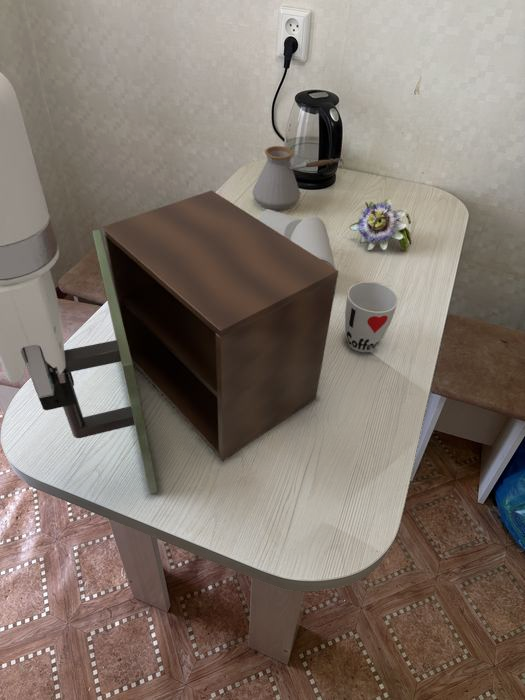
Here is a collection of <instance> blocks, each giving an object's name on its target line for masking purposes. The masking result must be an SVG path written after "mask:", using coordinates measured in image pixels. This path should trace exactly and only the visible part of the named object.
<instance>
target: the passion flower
mask: <svg viewBox="0 0 525 700" xmlns="http://www.w3.org/2000/svg"><path fill="white" fill-rule="evenodd" d="M392 205H393V201H392V198H391V197H389V196H388V197H386V199H384V200H383V202H380V203H378V202H377V203H375V202H374V201H373V200H372V201H370V202H369V204H368V202H367V201H365V206H366V207H365V209H361V211H360V213H361V215H362V217H361V218H359V219H358V221H357V222H354V223H352V224H351V225H349V229H350V230H351V231H356V232H357V231H358V232H359V233H360V235H361V236H360V241H359V244H367V247H366V248H367V249H366V251H369V252H370V251H372V250H374V249H375V247H376V246H377V244H378V245H379V247H380V249H381V250H382V251H386V250H387V249H388V247H389V245H390V242H391V239H394V240H398V242H399V245H400V248H401V250H402V251H406V250H408V246H411V245H412V237H411V232H410V230H409V229H408V228H407V224H406V223H405V222H403V221H401V220H400V219H401V218H403V217H406V219H407V221H408V225H411V224H412V219H411V217H410V214H409V213H407V210H406V209H397V210H393V209H391V208H392ZM408 244H409V245H408Z"/></svg>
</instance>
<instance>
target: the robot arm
mask: <svg viewBox="0 0 525 700" xmlns="http://www.w3.org/2000/svg"><path fill="white" fill-rule="evenodd" d="M59 257H60V248H59V245H58V242H57V238H56V234H55V231H54V227H53V222H52V219H51V216H50V213H49V209H48V205H47V201H46V198H45V193H44V190H43V187H42V183H41V179H40V175H39V172H38V169H37V165H36V162H35V157H34V154H33V151H32V146H31V144H30V140H29V136H28V132H27V129H26V124H25V122H24V117H23V113H22V110H21V107H20V103H19V99H18V96H17V94H16V91H15V89H14V87H13V85H12V83H11V82H10V80H9V79H8V78H7V76H5V75H4V73H2V72H1V71H0V363H1V366H2V369H3V372H4V374H5V376H6V379H7V380H8V381H9V382H10V383H12V384H17V383H22V382H24V377H25V373H26V372H25V371H26V369H27V372H28V374H29V376H30V379H31V382H32V384H33V387H34V390H35V393H36V395H37V397H38V399H39V403H40V405H41V408H42V410H43V411H51V410H56V409H60V408H63V407H65V406H69V405H74V404H75V403H76V397H75V394H74V391H73V388H72V385H71V382H70V379H69V376H68V374H64V371H63V370H64V369H65V366H66V365H65V352H64V350H65V341H64V339H65V338H64V330H63V329H64V328H63V321H62V315H61V308H60V303H59V299H58V295H57V291H56V287H55V283H54V280H53V276H52V272H51V269H52V268H53V267H54V266H55V265H56V263H57V261H58V260H59ZM49 368H55V371H54V372H50V370H49ZM69 375H70V378H71V381H72V384H73V387H75V380H74V378H73V374H72V372H69Z"/></svg>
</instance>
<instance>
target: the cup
mask: <svg viewBox="0 0 525 700" xmlns="http://www.w3.org/2000/svg"><path fill="white" fill-rule="evenodd" d="M398 305H399V297H398V294H397V293H396V292H395V291H394V290H393V289H392V288H391V287H389V286H387V285H385V284H383V283H379V282H374V281H361V282H358V283H357V282H356V283H355V284H352V285H351V286H350V287H349V289H348V291H347V295H346V303H345V311H344V331H345V337H346V341H347V342H346V343H347V345H348V346H349V347H350V349H352V350H354V351H356V352H359V353H370V352H373V351H374V350H376V348H377V346H378V345H379V344H380V342H381V341H382V340H383V338H384V337H385V334H386V333H387V330H388V329H389V327H390V326H391V323H392V320H393V317H394V315H395V313H396V309H397V307H398Z"/></svg>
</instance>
